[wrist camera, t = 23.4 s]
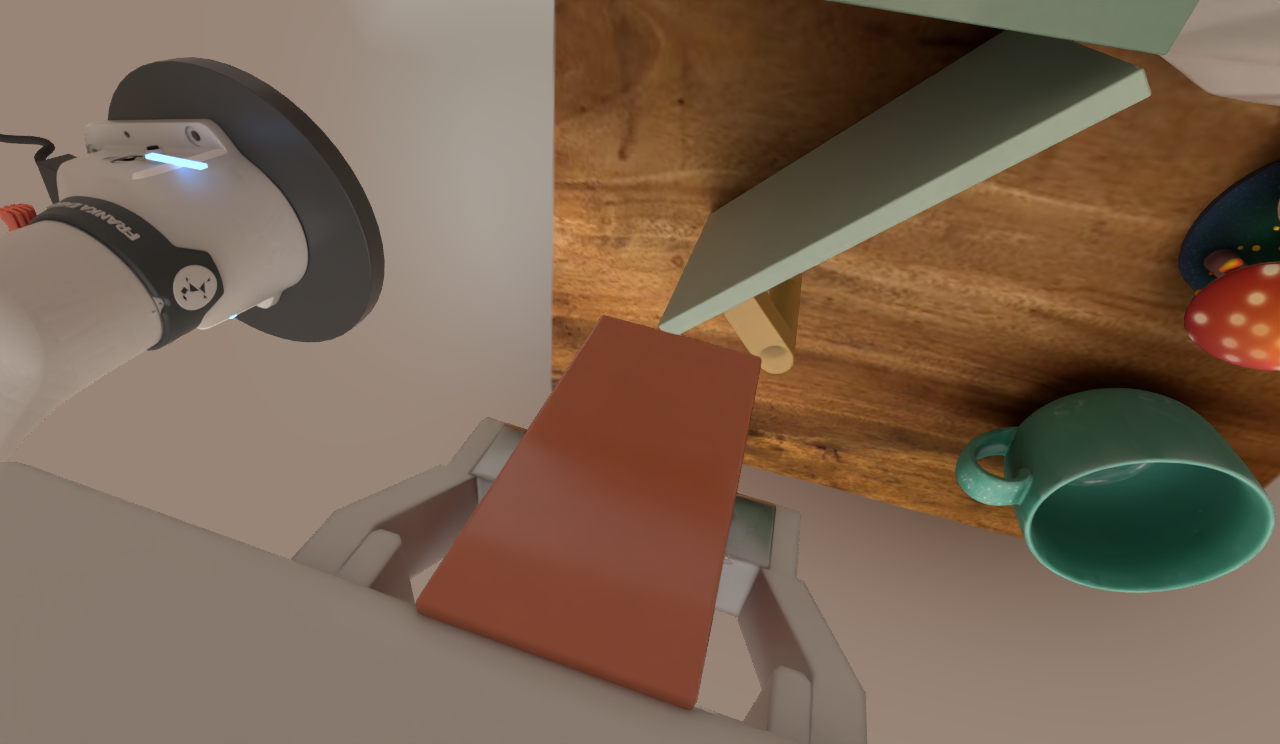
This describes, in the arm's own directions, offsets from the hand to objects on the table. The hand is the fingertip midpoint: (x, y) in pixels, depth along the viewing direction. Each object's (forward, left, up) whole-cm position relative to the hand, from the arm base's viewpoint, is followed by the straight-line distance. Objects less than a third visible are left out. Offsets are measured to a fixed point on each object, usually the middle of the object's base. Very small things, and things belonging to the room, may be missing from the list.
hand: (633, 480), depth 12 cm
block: (0, 0, -3) cm, 3 cm away
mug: (+27, -17, -32) cm, 45 cm away
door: (+7, -2, -31) cm, 32 cm away
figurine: (+30, 0, -32) cm, 44 cm away
